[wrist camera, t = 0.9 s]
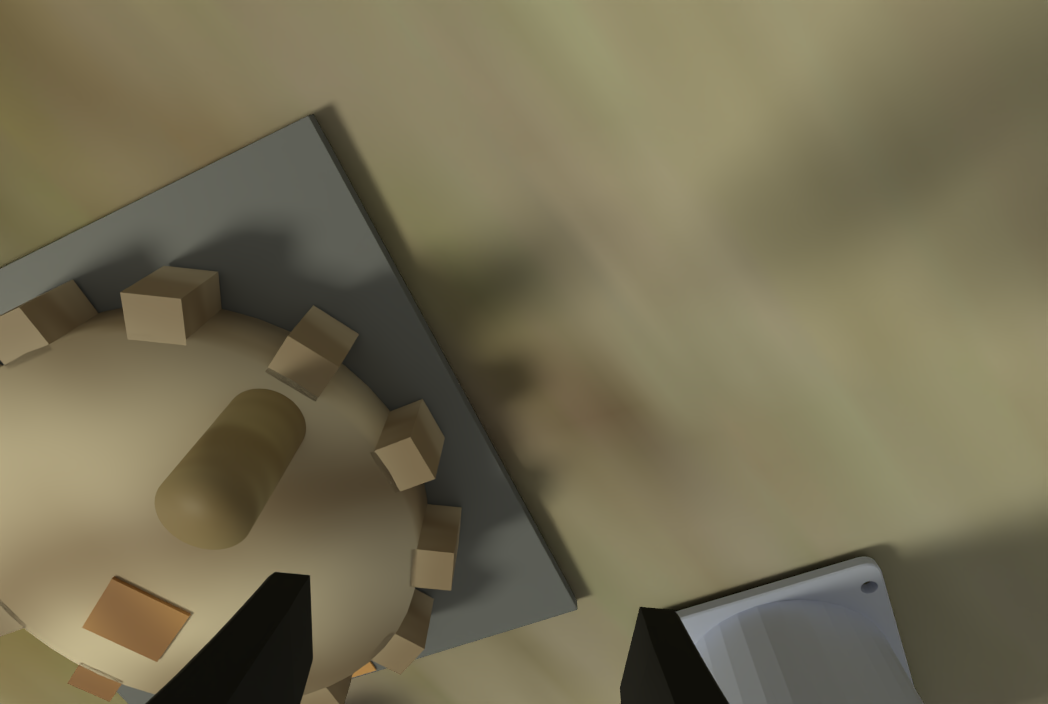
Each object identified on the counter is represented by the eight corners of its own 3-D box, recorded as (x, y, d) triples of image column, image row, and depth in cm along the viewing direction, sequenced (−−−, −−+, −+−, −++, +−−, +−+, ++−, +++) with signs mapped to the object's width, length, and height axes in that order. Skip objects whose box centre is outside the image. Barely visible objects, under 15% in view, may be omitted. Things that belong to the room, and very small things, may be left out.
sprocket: (538, 599, 22) (537, 764, 17) (166, 716, 25) (72, 886, 20) (293, 173, 16) (184, 233, 11) (-154, 388, 19) (-399, 512, 14)
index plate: (576, 600, 23) (577, 610, 22) (167, 727, 26) (161, 738, 25) (313, 114, 16) (306, 116, 16) (-191, 364, 19) (-206, 371, 19)
